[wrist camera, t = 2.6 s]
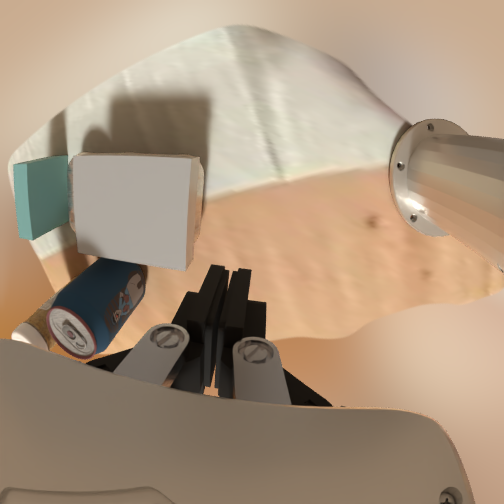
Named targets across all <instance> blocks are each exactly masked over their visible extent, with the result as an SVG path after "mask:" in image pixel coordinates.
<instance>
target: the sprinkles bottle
mask: <svg viewBox="0 0 504 504" xmlns="http://www.w3.org/2000/svg"><path fill="white" fill-rule="evenodd" d="M76 277H77V276H76ZM76 277H74V278H73V279H72V280H71V281H70V282H72V281H73V280H74V279H75V278H76ZM70 282H69V283H70ZM69 283H68V284H69ZM68 284H67V285H68ZM67 285H66V286H67ZM66 286H64V287H63V288H65V287H66ZM63 288H61V289H60V290H59V291H58V292H57V293H56V294H54V295H53V296H52V297H51V298H50V299H49V300H48V301H47V302H45V303H44V304H43V305H42V306H41V307H40V308H39V309H38V310H37V311H36V312H35V313H34V314H33V315H32V316H31V317H30V318H29V319H28V320H27V321H25V322H23V323H21V324H20V325H19V326H18V327H17V328H16V329H15V330H14V331H13V333H12V340H17V341H23V342H26V343H29V344H33V345H35V346H38V347H41V348H43V349H46V350H49V351H50V350H51V349H52V348H53V347H54V345H55V344H56V342H55V340H54V339H53V337H52V336H51V334H50V332H49V329H48V326H47V322H46V316H47V313H48V311H49V310H50V308H51V304H52V301H53V299H54V297H55V296H56V295H57V294H58V293H59V292H60V291H61V290H62V289H63Z"/></svg>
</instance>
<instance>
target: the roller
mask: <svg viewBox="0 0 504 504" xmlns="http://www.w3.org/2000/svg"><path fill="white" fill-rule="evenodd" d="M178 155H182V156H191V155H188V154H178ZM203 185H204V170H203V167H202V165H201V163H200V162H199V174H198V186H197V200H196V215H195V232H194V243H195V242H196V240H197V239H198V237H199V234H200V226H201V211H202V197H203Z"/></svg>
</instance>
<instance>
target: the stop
mask: <svg viewBox="0 0 504 504" xmlns="http://www.w3.org/2000/svg"><path fill="white" fill-rule="evenodd" d="M67 168H68V155H63V156H51V157H46V158H41V159H36V160H31V161H27V162H22V163H18V164H14V191H15V204H16V214H17V222H18V230H19V236H20V238H23V239H28V240H35V239H36V238H38V237H40V236H42V235H44V234H45V233H47V232H49V231H51V230H53V229H55V228H56V227H58V226H60V225H62V224H64V223H66V222H68V221H69V214H68V196H67Z"/></svg>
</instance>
